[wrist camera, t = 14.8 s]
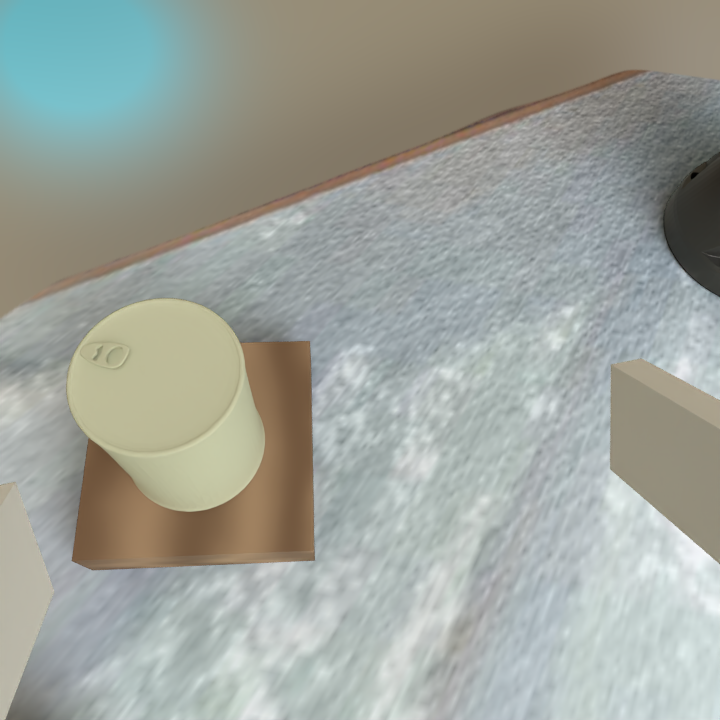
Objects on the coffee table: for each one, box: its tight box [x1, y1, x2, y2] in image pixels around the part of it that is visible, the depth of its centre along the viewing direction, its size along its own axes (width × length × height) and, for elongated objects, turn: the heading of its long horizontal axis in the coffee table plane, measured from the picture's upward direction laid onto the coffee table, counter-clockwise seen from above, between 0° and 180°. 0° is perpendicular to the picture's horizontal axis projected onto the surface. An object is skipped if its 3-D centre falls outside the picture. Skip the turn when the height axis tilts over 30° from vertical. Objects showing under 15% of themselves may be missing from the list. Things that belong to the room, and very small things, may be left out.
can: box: [66, 298, 265, 512], centre depth 39 cm, size 9×9×12 cm
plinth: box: [72, 341, 315, 570], centre depth 46 cm, size 15×15×4 cm
